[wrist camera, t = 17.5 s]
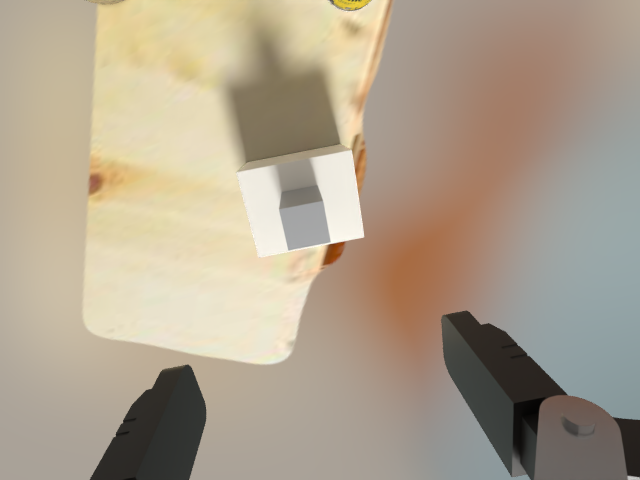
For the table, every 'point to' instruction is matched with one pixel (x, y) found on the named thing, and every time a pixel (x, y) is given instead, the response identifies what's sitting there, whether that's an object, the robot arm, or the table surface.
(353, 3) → the supplement bottle
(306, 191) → the white block
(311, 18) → the table surface
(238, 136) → the table surface
